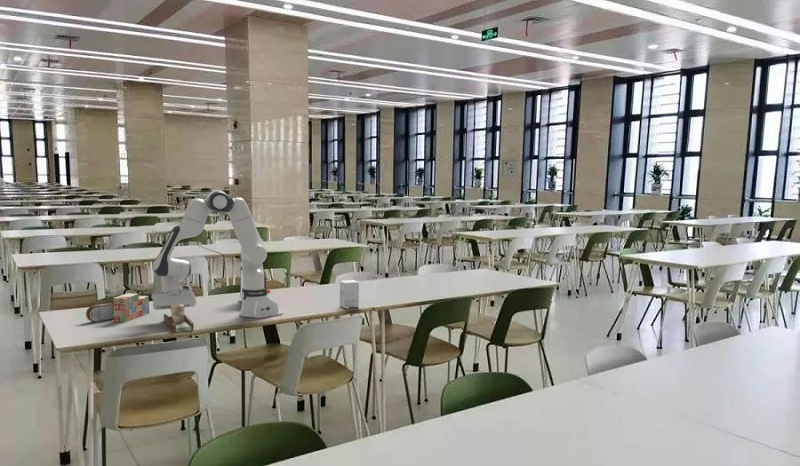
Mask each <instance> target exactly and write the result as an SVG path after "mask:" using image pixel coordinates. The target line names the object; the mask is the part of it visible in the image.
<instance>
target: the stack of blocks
mask: <svg viewBox="0 0 800 466" xmlns="http://www.w3.org/2000/svg"><path fill="white" fill-rule="evenodd" d="M112 302H113V308H114V319H113V322H117V323H126V322H130V321H132V320H134V319H135V320H136V319H138V318H139V317H142V316H145V315H148V314H150V296H148V295H140V294H139V293H131V292H130V293H129V292H127V293H124V294H122V295H119V296H118V295H117V296H116V297H113V300H112Z"/></svg>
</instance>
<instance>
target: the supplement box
mask: <svg viewBox="0 0 800 466" xmlns="http://www.w3.org/2000/svg"><path fill="white" fill-rule="evenodd" d="M359 289H360V282H359V281H357V280H355V279H348V280H346V279H344V280H339V306H340V305H341V306H342V307H344V308H346V307H360V306H359V302H360V299H359V298H360V294H359V293H360V291H359ZM341 306H340V307H341ZM342 307H341V308H342ZM344 308H343V309H344Z"/></svg>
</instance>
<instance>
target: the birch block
mask: <svg viewBox="0 0 800 466" xmlns="http://www.w3.org/2000/svg"><path fill="white" fill-rule="evenodd" d="M184 314H185V307H184V305H183V304H177V305H172V311H171V316H172V321H173V322H174V323H180V322H184Z"/></svg>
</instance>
